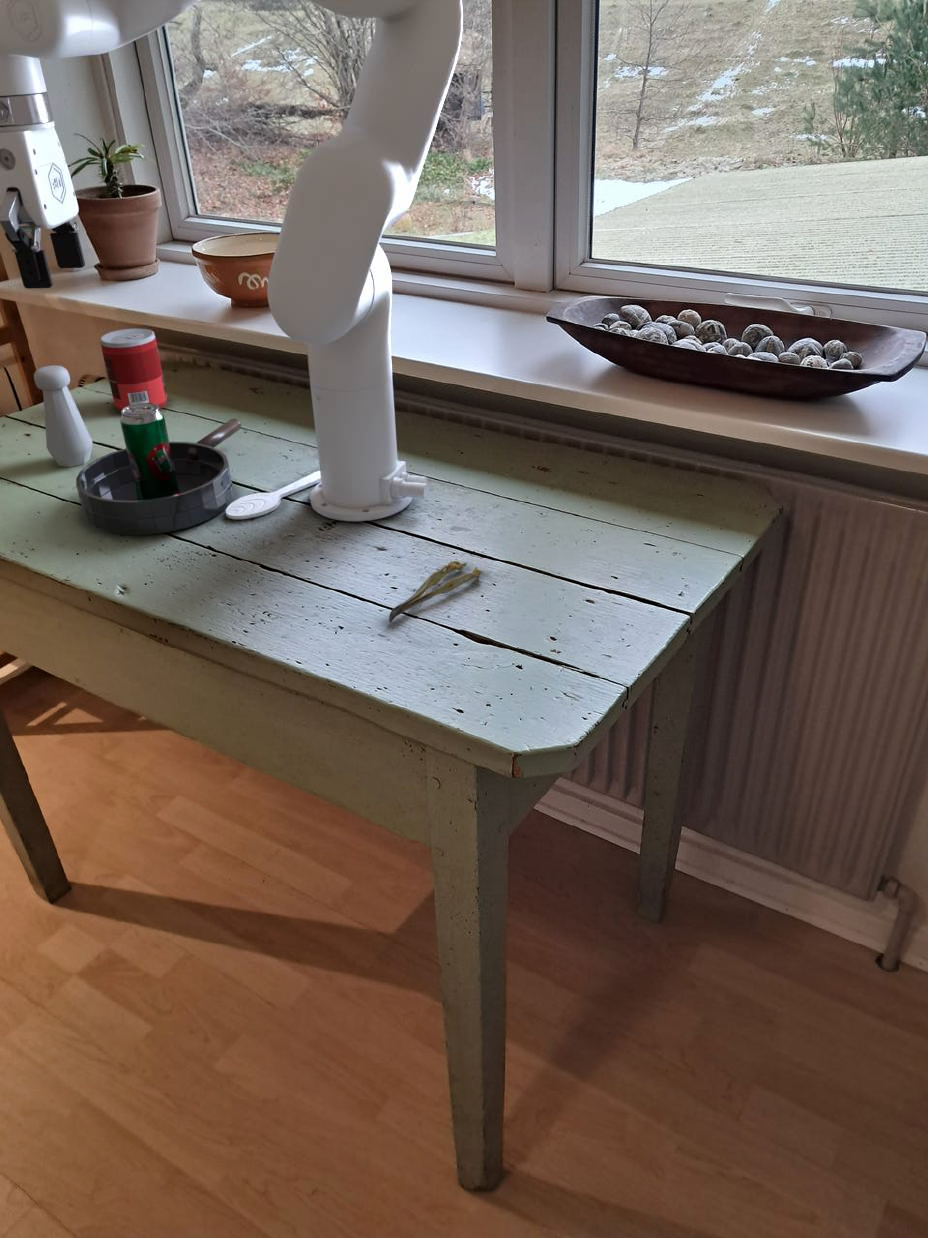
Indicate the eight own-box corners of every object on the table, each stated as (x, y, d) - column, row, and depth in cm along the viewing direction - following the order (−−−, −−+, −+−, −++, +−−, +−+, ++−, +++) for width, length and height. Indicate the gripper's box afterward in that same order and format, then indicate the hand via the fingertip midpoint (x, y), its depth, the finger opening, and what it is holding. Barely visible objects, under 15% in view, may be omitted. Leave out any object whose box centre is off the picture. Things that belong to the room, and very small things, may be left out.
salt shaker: (103, 453, 134) (80, 361, 127) (85, 469, 130) (61, 375, 123) (63, 452, 135) (38, 360, 128) (44, 469, 130) (17, 375, 123)
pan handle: (244, 429, 134) (242, 417, 133) (197, 462, 125) (195, 449, 124) (232, 428, 135) (230, 415, 134) (186, 460, 126) (183, 447, 125)
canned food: (178, 402, 151) (165, 331, 145) (139, 418, 145) (123, 346, 139) (144, 394, 154) (130, 325, 148) (105, 409, 149) (88, 338, 143)
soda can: (138, 495, 122) (117, 404, 115) (179, 489, 123) (161, 399, 116) (139, 512, 118) (118, 418, 111) (181, 506, 119) (163, 413, 112)
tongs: (380, 619, 96) (379, 602, 95) (455, 570, 106) (455, 554, 104) (413, 632, 94) (413, 614, 93) (487, 581, 103) (487, 564, 102)
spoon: (352, 474, 126) (352, 470, 126) (243, 524, 115) (242, 520, 114) (325, 464, 129) (324, 460, 129) (215, 511, 118) (214, 507, 117)
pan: (259, 482, 125) (254, 450, 122) (181, 546, 111) (174, 510, 108) (142, 466, 130) (135, 435, 128) (53, 525, 116) (43, 491, 113)
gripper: (14, 120, 96) (58, 295, 106) (79, 105, 111) (113, 259, 120) (-59, 123, 97) (-9, 296, 106) (15, 107, 111) (54, 261, 121)
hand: (56, 277), depth 113 cm, fingers open, 9 cm apart
